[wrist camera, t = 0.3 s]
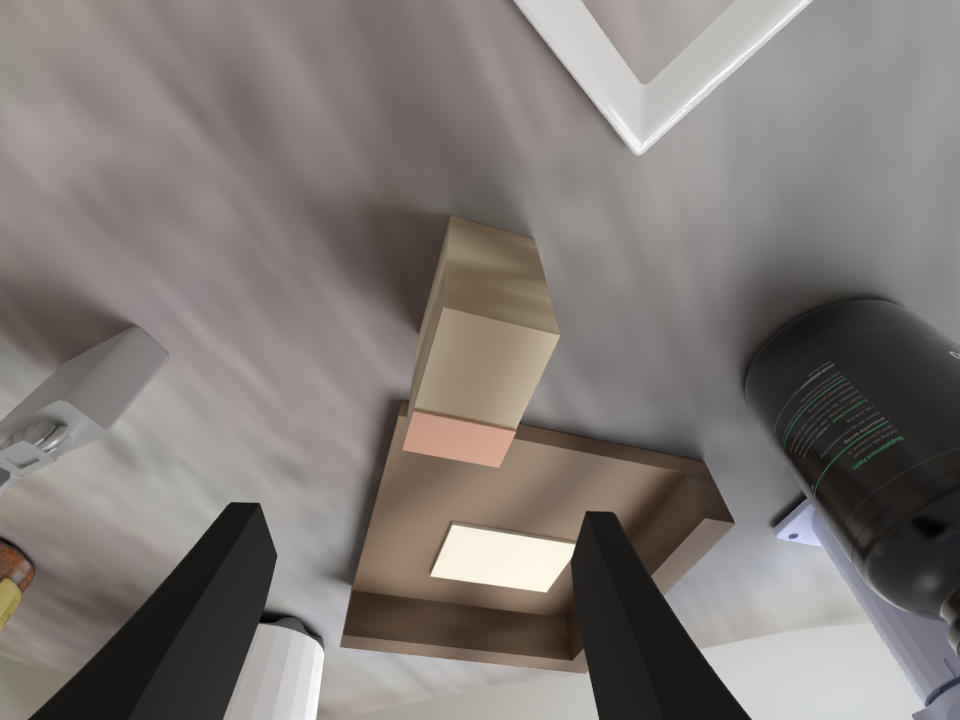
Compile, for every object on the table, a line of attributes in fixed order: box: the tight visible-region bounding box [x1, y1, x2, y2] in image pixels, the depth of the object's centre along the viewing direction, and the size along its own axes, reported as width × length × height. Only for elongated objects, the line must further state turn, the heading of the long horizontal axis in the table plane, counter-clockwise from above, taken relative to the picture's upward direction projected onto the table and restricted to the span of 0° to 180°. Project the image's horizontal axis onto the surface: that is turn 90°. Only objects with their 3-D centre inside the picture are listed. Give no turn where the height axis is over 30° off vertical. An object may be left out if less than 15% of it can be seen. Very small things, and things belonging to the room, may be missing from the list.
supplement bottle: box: [745, 299, 960, 658], centre depth 16 cm, size 7×7×12 cm
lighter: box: [0, 326, 169, 495], centre depth 17 cm, size 7×2×8 cm, turn 116°
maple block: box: [402, 216, 560, 468], centre depth 16 cm, size 3×5×6 cm, turn 163°
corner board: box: [340, 400, 735, 674], centre depth 26 cm, size 15×16×4 cm
